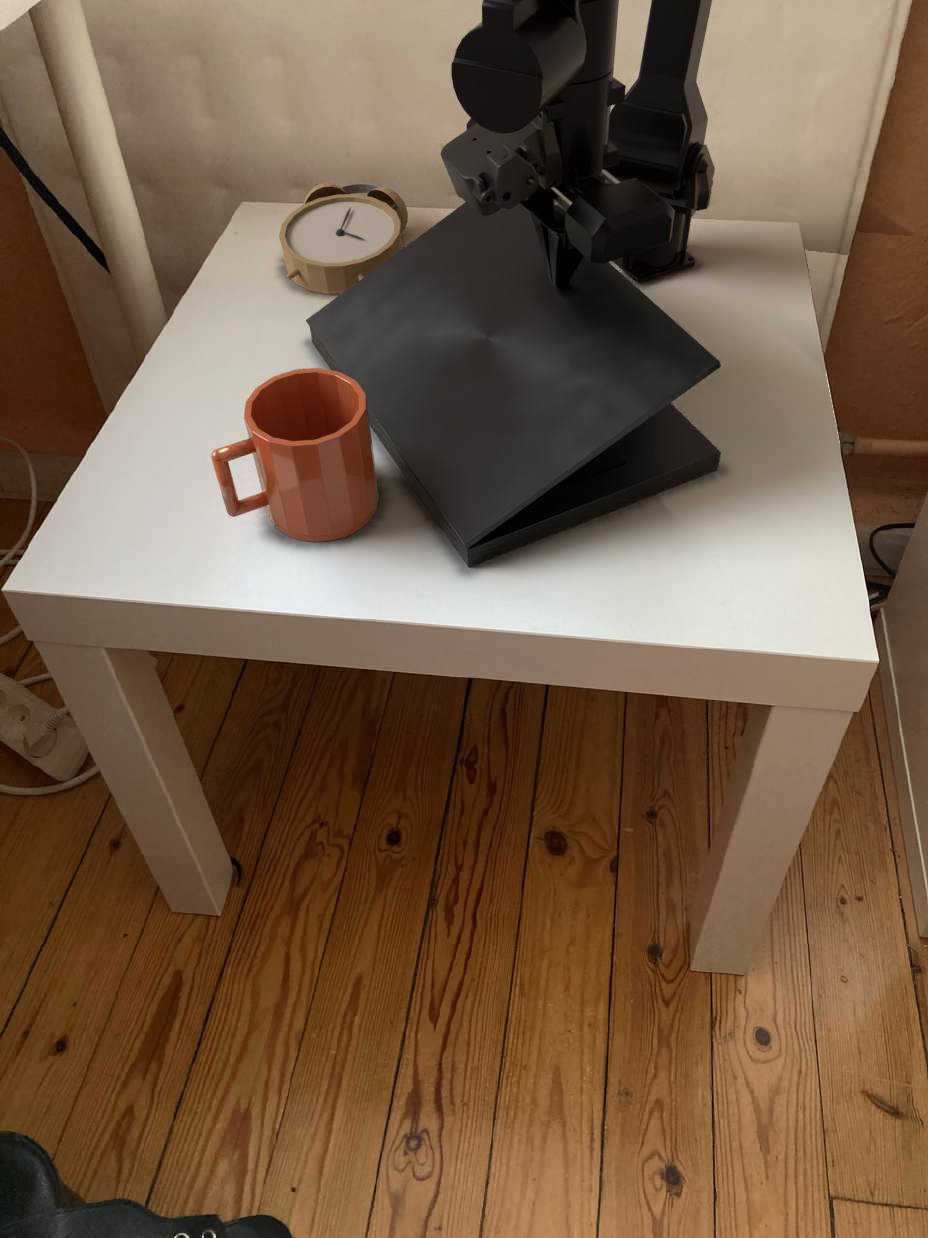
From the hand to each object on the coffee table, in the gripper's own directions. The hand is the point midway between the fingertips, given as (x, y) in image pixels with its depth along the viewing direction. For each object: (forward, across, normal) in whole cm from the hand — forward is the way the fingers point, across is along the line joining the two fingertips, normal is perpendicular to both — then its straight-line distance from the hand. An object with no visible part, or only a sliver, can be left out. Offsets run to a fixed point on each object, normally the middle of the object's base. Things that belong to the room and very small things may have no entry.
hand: (559, 283), depth 77 cm
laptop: (+9, 0, -5) cm, 11 cm away
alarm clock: (+9, -27, -7) cm, 29 cm away
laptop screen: (+3, 0, -6) cm, 7 cm away
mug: (+9, +4, -24) cm, 26 cm away
